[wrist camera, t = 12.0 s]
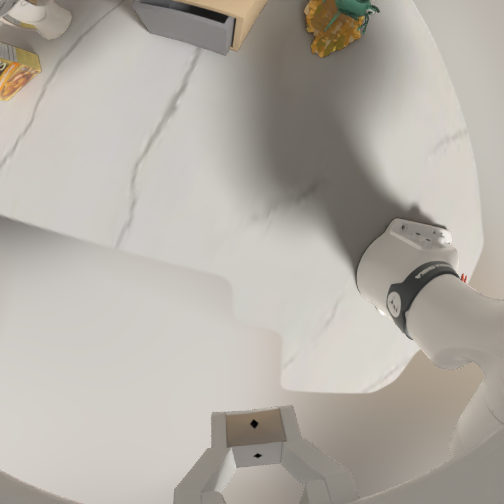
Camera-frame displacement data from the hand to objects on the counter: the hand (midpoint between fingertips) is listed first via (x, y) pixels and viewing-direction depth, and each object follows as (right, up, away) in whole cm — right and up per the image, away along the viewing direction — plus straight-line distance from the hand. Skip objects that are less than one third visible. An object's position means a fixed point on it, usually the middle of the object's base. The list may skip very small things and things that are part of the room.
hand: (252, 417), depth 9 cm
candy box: (-39, +36, +19) cm, 56 cm away
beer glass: (-32, +44, +17) cm, 57 cm away
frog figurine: (+13, +43, +22) cm, 50 cm away
